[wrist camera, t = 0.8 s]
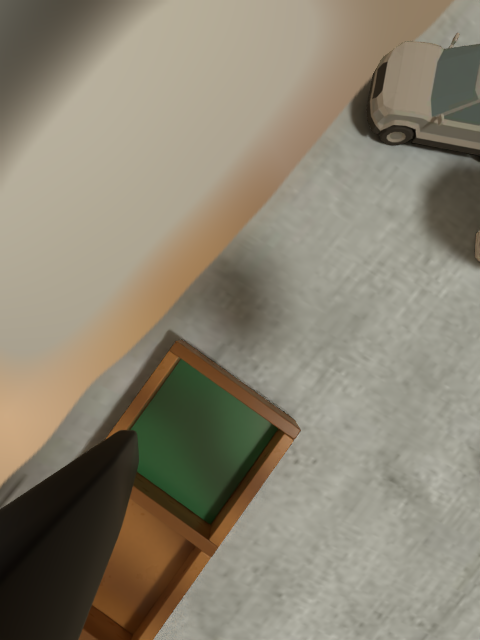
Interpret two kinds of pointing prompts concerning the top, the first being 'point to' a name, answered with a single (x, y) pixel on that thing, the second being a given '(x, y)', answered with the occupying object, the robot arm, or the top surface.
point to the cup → (477, 246)
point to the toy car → (428, 96)
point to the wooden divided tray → (183, 487)
